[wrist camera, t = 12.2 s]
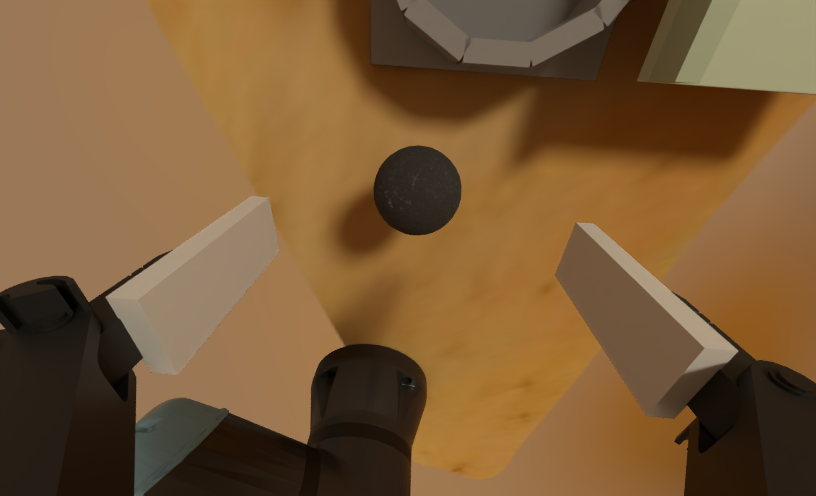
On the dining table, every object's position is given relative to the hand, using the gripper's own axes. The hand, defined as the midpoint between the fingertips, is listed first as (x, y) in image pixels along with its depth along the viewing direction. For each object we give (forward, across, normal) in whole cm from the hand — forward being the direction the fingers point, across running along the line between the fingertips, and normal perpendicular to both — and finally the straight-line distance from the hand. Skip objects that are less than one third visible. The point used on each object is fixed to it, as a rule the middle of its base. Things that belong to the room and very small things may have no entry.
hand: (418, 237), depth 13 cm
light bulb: (+14, 0, 0) cm, 14 cm away
